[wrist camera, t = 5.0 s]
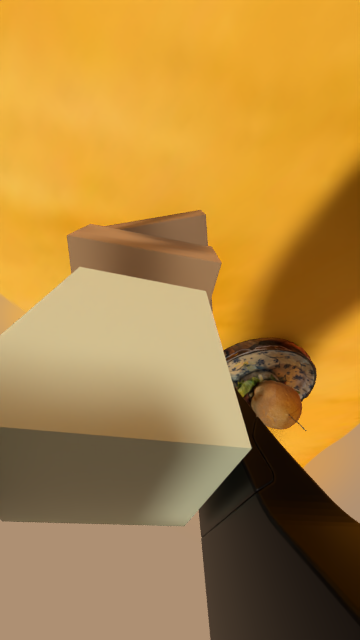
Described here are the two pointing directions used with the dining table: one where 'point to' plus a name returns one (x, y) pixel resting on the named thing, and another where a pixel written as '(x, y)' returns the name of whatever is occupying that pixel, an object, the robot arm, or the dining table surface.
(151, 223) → the walnut slab low
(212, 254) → the walnut slab top
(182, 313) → the sage block
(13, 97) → the dining table surface
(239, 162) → the dining table surface
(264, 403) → the burger
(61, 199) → the dining table surface
